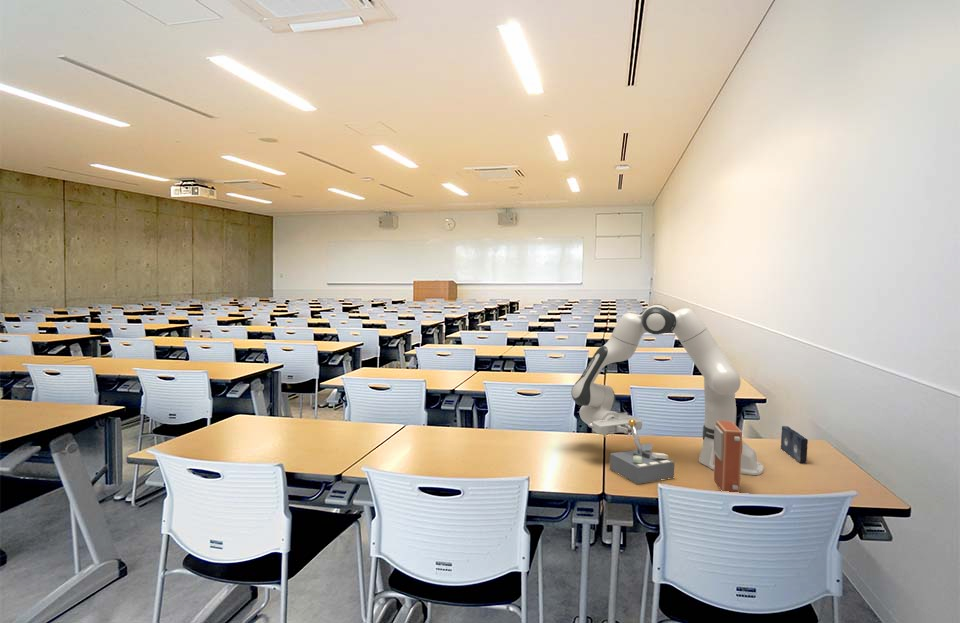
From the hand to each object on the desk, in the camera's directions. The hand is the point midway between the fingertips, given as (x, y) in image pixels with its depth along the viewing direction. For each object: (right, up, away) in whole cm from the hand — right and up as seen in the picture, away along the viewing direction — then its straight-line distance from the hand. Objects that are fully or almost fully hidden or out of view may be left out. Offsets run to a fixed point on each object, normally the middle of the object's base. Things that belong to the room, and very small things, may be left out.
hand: (629, 431), depth 201 cm
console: (+2, -14, -6) cm, 16 cm away
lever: (+3, -8, -6) cm, 10 cm away
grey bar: (+6, -7, 0) cm, 10 cm away
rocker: (+9, -7, -8) cm, 14 cm away
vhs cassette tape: (+70, -14, +15) cm, 73 cm away
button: (-1, -8, -12) cm, 14 cm away
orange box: (+28, -16, -17) cm, 37 cm away
